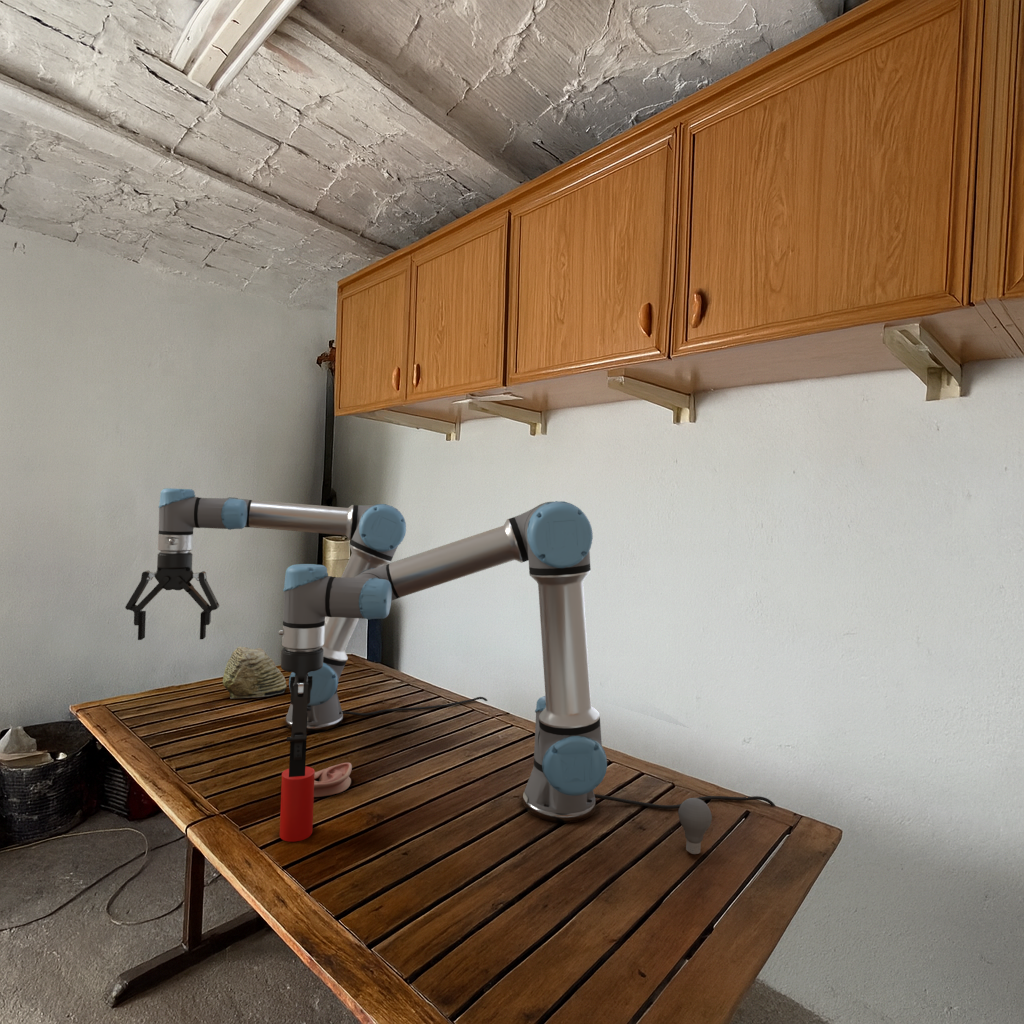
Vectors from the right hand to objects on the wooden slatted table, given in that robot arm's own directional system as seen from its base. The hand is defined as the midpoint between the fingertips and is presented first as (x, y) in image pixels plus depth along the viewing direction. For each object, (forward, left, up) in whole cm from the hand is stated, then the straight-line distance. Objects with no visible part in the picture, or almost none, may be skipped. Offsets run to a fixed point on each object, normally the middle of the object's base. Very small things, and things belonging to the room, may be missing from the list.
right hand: (298, 760), depth 119 cm
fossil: (+15, -87, -14) cm, 90 cm away
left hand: (+31, -47, +13) cm, 58 cm away
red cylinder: (0, 0, -14) cm, 14 cm away
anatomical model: (-4, -19, -14) cm, 24 cm away
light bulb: (-71, +23, -14) cm, 76 cm away
